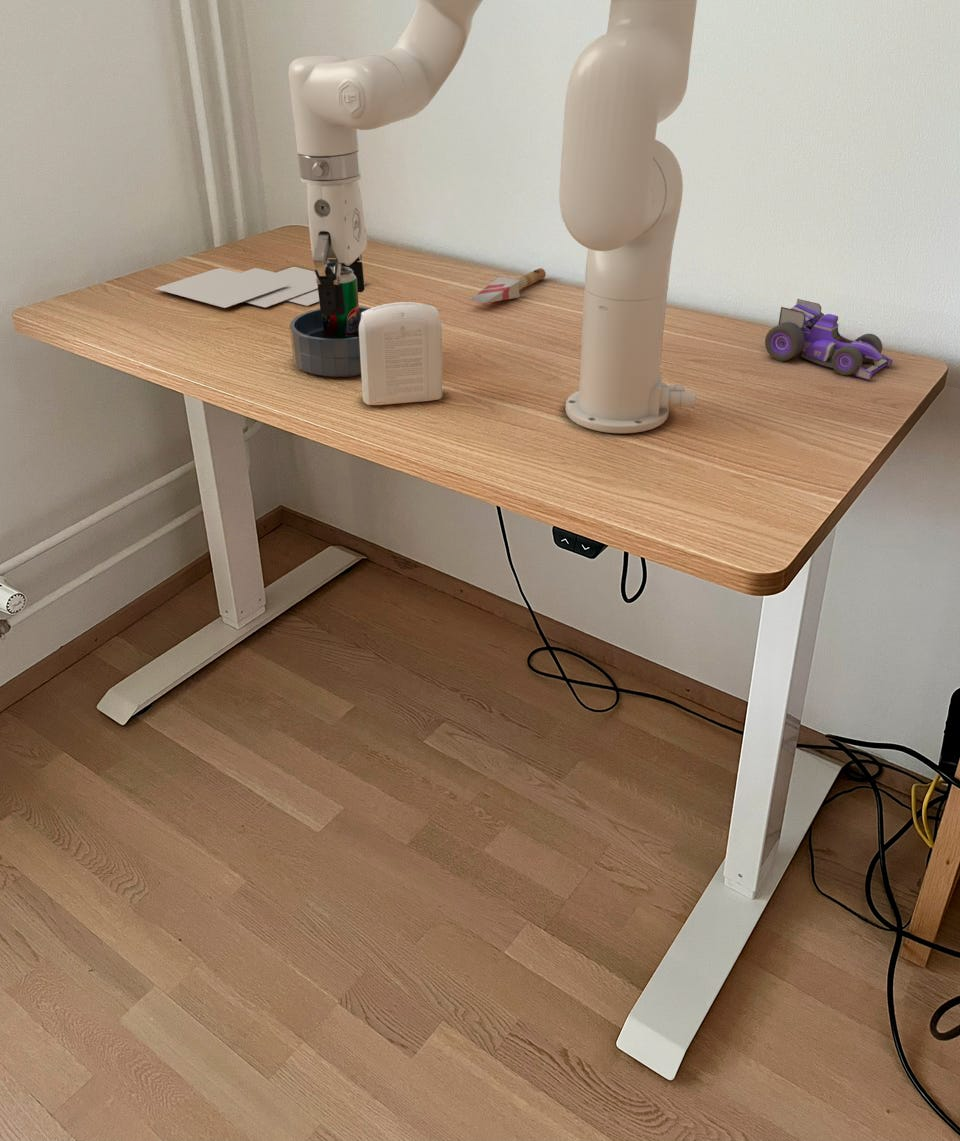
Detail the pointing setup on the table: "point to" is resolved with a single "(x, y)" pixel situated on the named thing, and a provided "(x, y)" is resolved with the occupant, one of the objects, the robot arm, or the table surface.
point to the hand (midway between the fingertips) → (343, 302)
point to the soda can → (350, 320)
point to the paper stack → (248, 287)
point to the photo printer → (400, 353)
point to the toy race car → (823, 341)
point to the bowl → (323, 348)
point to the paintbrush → (508, 287)
